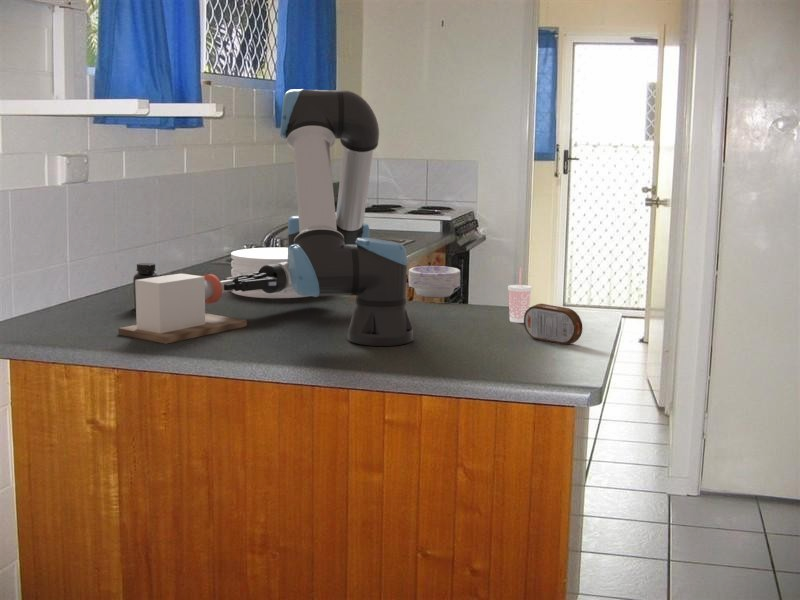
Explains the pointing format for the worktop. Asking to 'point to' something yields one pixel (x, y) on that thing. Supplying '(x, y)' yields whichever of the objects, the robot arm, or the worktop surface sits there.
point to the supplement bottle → (143, 276)
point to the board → (186, 330)
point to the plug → (212, 288)
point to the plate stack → (253, 262)
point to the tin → (553, 324)
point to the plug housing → (170, 302)
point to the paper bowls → (434, 280)
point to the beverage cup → (518, 300)
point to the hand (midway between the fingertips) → (212, 288)
